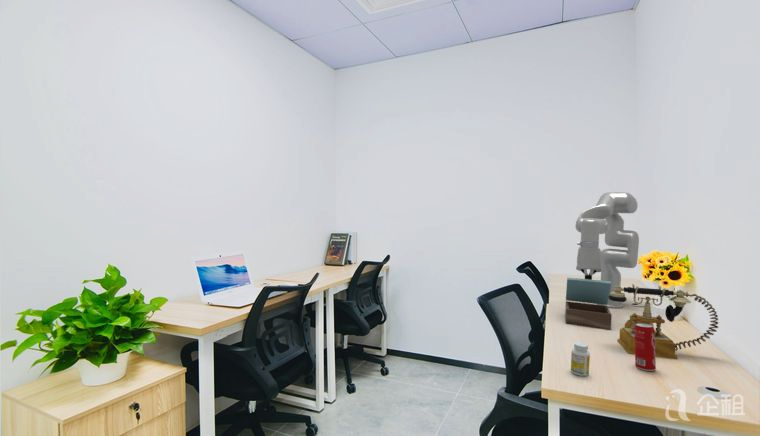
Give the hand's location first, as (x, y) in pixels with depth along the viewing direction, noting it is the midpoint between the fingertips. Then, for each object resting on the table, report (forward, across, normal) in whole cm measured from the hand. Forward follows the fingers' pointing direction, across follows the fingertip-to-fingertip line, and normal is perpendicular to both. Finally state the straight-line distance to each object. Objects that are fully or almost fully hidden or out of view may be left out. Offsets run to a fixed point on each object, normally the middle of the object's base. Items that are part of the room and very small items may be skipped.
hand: (588, 283), depth 181 cm
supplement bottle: (+18, -6, -66) cm, 68 cm away
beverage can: (+18, +14, -51) cm, 56 cm away
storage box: (+18, 0, -2) cm, 18 cm away
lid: (+5, 0, +1) cm, 5 cm away
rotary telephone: (+18, +22, -28) cm, 40 cm away
